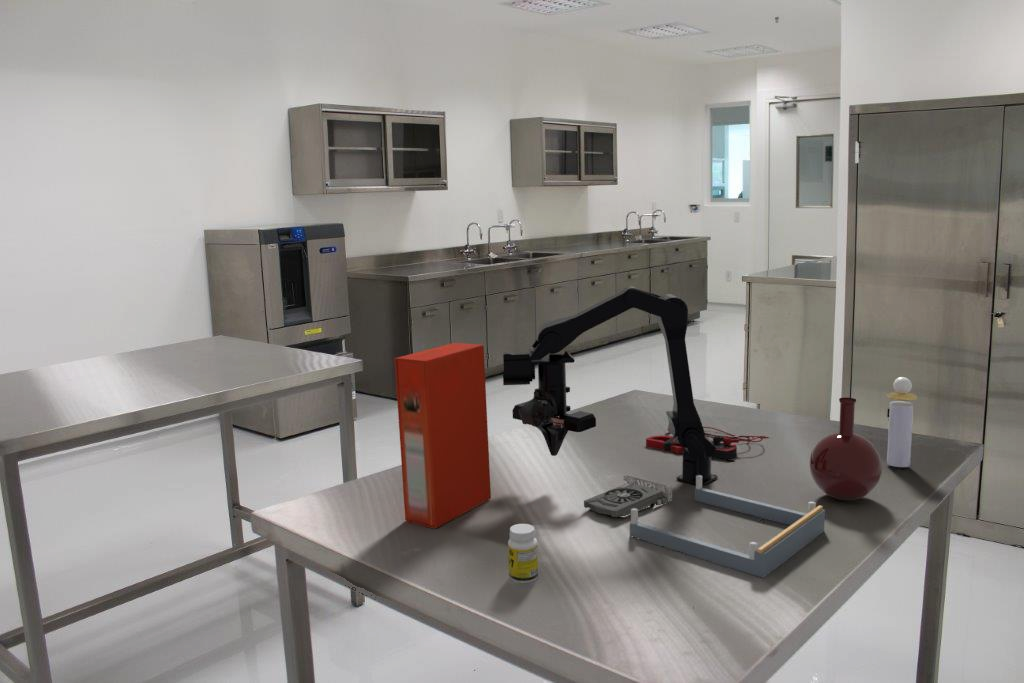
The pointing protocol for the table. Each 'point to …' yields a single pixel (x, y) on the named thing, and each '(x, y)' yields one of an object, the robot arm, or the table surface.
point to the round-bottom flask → (845, 460)
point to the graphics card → (629, 497)
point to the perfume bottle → (900, 423)
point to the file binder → (443, 432)
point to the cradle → (757, 560)
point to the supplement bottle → (523, 554)
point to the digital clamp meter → (722, 449)
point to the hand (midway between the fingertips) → (554, 455)
